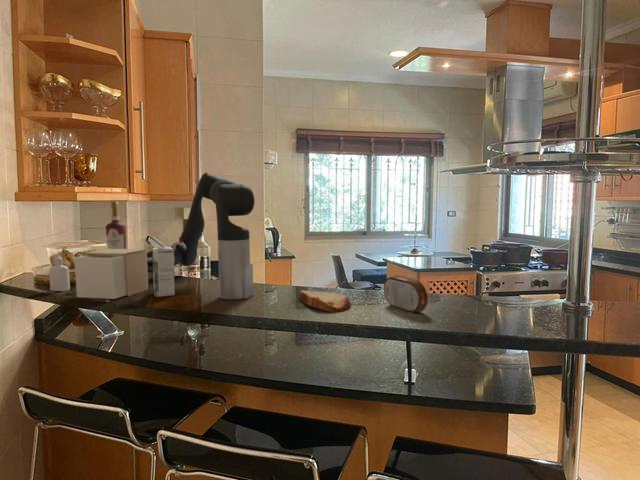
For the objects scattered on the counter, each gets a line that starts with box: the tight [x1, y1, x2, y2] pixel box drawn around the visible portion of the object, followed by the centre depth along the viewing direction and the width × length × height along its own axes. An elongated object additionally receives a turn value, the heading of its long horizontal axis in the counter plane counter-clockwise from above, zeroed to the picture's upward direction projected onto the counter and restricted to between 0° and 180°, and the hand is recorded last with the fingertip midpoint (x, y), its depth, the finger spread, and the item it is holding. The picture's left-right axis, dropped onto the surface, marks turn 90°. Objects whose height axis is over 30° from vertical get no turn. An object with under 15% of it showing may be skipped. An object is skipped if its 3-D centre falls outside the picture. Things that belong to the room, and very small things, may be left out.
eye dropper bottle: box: [48, 253, 71, 293], centre depth 155 cm, size 4×6×12 cm
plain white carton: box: [74, 250, 149, 300], centre depth 150 cm, size 13×17×12 cm
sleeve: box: [84, 248, 149, 297], centre depth 152 cm, size 15×10×13 cm
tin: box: [383, 274, 429, 314], centre depth 125 cm, size 15×3×8 cm, turn 30°
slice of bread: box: [298, 290, 352, 313], centre depth 133 cm, size 18×18×4 cm
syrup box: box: [152, 246, 176, 298], centre depth 147 cm, size 6×6×14 cm
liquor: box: [105, 201, 127, 249], centre depth 185 cm, size 7×7×28 cm
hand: (130, 267), depth 158 cm, fingers closed
